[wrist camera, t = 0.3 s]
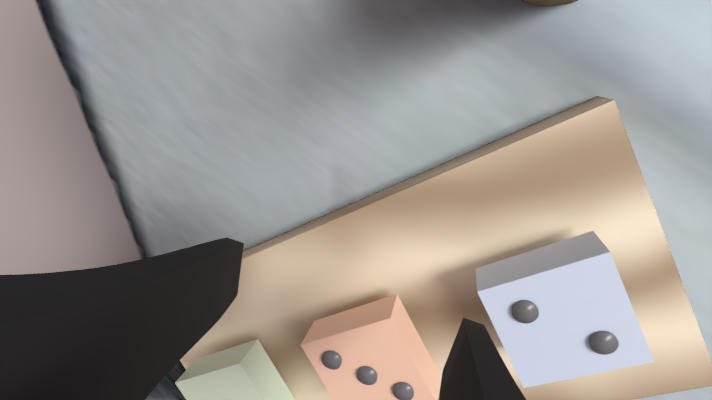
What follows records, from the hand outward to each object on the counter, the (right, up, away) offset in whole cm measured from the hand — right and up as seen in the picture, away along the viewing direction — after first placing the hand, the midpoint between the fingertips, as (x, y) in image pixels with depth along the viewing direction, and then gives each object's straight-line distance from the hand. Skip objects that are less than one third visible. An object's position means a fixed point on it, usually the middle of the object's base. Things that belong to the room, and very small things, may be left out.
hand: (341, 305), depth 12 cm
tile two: (+9, -1, +5) cm, 11 cm away
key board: (+2, -4, +11) cm, 12 cm away
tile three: (+1, -5, +8) cm, 10 cm away
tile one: (-6, -8, +12) cm, 15 cm away
